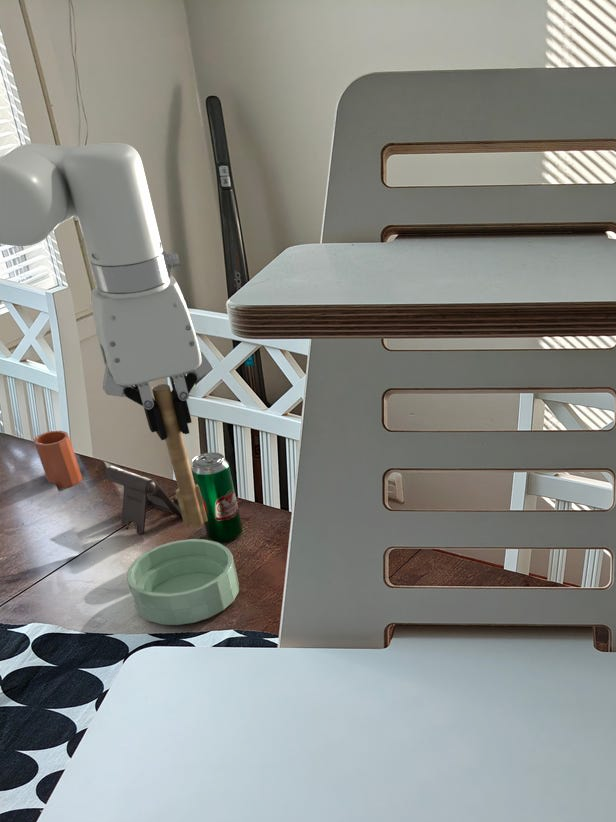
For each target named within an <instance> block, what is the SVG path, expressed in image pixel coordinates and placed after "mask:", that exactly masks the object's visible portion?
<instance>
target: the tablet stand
mask: <svg viewBox="0 0 616 822" xmlns="http://www.w3.org/2000/svg"><path fill="white" fill-rule="evenodd" d="M104 478H105V479H106V480H107V481H109V482H112V483H115V484H118V485H121V486H123V493H122V495H123V496H122V509H121V523H120V524H122V525H125V526H127V527H125V529H127V530H129V528H130V524H131V523H134V524H135V526H136V534H139V535H144V534H145V530H146V517H147V516H146V515H147V505H148V506H151V507H154V508H157V509H160V510H163V511H165V512H168V513H171V514H174V515H175V516H177V517H179V518H182V514H181V511H180V507H179V503H178V499H177V497H173V498H172V499H171V498H170V497H169V496H168V494H167V493H166V491H164V490H163V488H162V487H161V486H160V485H159V484H158V482H157V481H156V480H154V479H152V478H149V477H146V476H142V475H139V474H137V473H134V472H131V471H128V470H126V469H122V468H119V467H117V466H114V465H110V466H108V467H106V468H105V471H104Z"/></svg>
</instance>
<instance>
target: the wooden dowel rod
mask: <svg viewBox="0 0 616 822" xmlns="http://www.w3.org/2000/svg"><path fill="white" fill-rule="evenodd" d="M171 391H172V388H171V385H169V384H167V383H166V384H164V383H163V384H161V383H160V384H157V385H155V386H153V387H152V388H151V392H152V394H153V395H152V396H153V399H154V400H155V402H156V404H157V405H158V406H159V408H160V410H161V414H162V418H163V422H164V426H165V429H166V433H167V438H166V439H165V444H166V448H167V451H168V455H169V458H170V463H171V467H172V470H173V474H174V478H175V482H176V485H177V489H174V490H175V496H176V498H177V499H178V503H179V507H180V511H181V514H182V517H181V518H182V521H183V525H184V527H185V528H190V527H191V528H197V527H201V526H202V525H203V524H204V522H207V517H206V513H205V509H204V505H203V501H202V497H201V493H200V489H199V486H198V484H195V483H194V479H193V475H192V471H191V468H192V467H191V464H190V461H189V456H188V453H187V448H186V444H185V440H184V436H183V433H182V432H181V429H180V425H179V421H178V418H177V414H176V410H175V406H174V402H173V397H172V393H171Z"/></svg>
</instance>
